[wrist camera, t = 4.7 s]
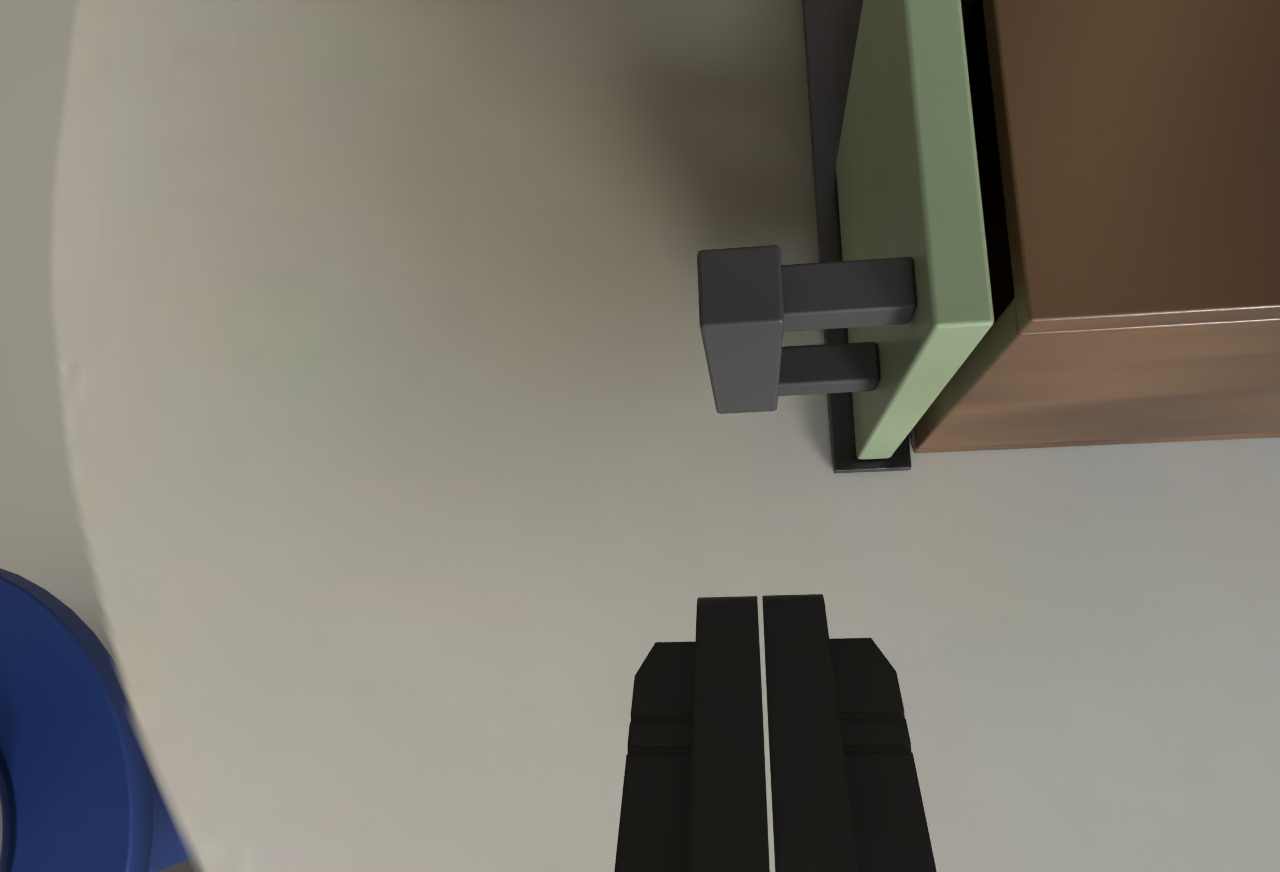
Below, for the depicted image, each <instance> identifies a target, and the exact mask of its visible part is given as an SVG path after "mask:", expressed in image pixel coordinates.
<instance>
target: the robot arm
mask: <svg viewBox="0 0 1280 872" xmlns="http://www.w3.org/2000/svg"><path fill="white" fill-rule="evenodd" d="M763 619H764V642H765V665H766V687H767V709H768V730H769V750H770V771H771V791H772V812H773V832H774V853H775V872H936V867H935V862H934V857H933V852H932V847H931V842H930V837H929V832H928V827H927V822H926V817H925V812H924V807H923V802H922V797H921V792H920V787H919V782H918V777H917V772H916V767H915V762H914V758H913V753H912V752H911V743H910V738H909V733H908V728H907V723H906V719H905V717H904V708H903V703H902V698H901V693H900V688H899V683H898V678H897V673H896V671H895V669H894V668H893V667H892V665H891V664H890V663H889V661H888V660H887V659H886V657H885V656H884V655H883V653H882V652H881V651H880V649H879V648H878V647H877V645H876V644H875V643H874V641H873V640H872V639H871V638H847V639H829V634H828V627H827V619H826V611H825V603H824V598H823V595H822V594H814V595H774V596H763ZM15 840H16V812H15V801H14V794H13V788H12V783H11V779H10V775H9V771H8V768H7V765H6V762H5V759H4V757H3V754H2V752H1V750H0V872H11V868H12V864H13V858H14V850H15ZM615 872H770V870H769V847H768V824H767V801H766V778H765V755H764V732H763V709H762V688H761V667H760V646H759V625H758V605H757V596H746V597H706V598H698V600H697V618H696V642H658V643H655V644H654V646H653V647H652V649H651V651H650V652H649V654H648V656H647V657H646V659H645V660H644V662H643V664H642V665H641V667H640V669H639V670H638V672H637V673H636V675H635V679H634V689H633V698H632V708H631V722H630V727H629V737H628V755H627V756H626V766H625V776H624V785H623V795H622V805H621V814H620V824H619V834H618V844H617V853H616V863H615Z"/></svg>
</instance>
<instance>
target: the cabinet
mask: <svg viewBox="0 0 1280 872" xmlns="http://www.w3.org/2000/svg"><path fill="white" fill-rule="evenodd" d="M802 1H803V16H804V31H805V46H806V61H807V77H808V92H809V107H810V122H811V137H812V153H813V168H814V183H815V198H816V214H817V229H818V244H819V259H820V263H824V262H838V261H843V258H842V244H841V230H840V216H839V202H838V188H837V174H836V161H837V155H838V149H839V143H840V137H841V131H842V125H843V119H844V113H845V107H846V101H847V95H848V89H849V83H850V77H851V71H852V65H853V59H854V53H855V47H856V41H857V35H858V29H859V23H860V17H861V11H862V5H863V0H802ZM961 8H962V18H963V27H964V37H965V46H966V56H967V65H968V75H969V85H970V94H971V104H972V113H973V123H974V132H975V142H976V151H977V161H978V171H979V180H980V190H981V199H982V209H983V218H984V228H985V238H986V247H987V257H988V266H989V276H990V285H991V295H992V304H993V314H994V322H993V325H992V326H991V328H990V329H989V330H988V332H987V333H986V334H985V335H984V337H983V338H982V339H981V341H980V342H979V343H978V345H977V346H976V347H975V348H974V350H973V351H972V352H971V354H970V355H969V356H968V357H967V359H966V360H965V361H964V363H963V364H962V365H961V367H960V368H959V369H958V370H957V372H956V373H955V374H954V376H953V377H952V378H951V379H950V381H949V382H948V383H947V385H946V386H945V387H944V389H943V390H942V391H941V392H940V394H939V395H938V396H937V398H936V399H935V400H934V401H933V403H932V404H931V405H930V407H929V408H928V409H927V411H926V412H925V413H924V414H923V416H922V417H921V418H920V420H919V421H918V422H917V423H916V425H915V426H914V427H913V429H912V430H911V433H912V445H913V451H914V452H915V453H929V452H952V451H974V450H997V449H1020V448H1042V447H1065V446H1088V445H1110V444H1133V443H1156V442H1179V441H1201V440H1224V439H1247V438H1269V437H1280V0H961ZM824 335H825V344H840V343H848V329H847V328H835V329H824ZM828 396H829V411H830V427H831V442H832V457H833V472H834V473H852V472H876V471H900V470H910V469H911V457H910V445H909V434H908V435H907V436H906V438H905V439H904V440H903V442H902V443H901V444H900V445H899V447H898V448H897V449H896V451H895V452H894V453H893V454H892V456H891V457H890V458H881V459H858V458H857V455H856V441H855V427H854V413H853V399H852V392H843V393H828Z"/></svg>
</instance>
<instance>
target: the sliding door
mask: <svg viewBox="0 0 1280 872" xmlns="http://www.w3.org/2000/svg"><path fill="white" fill-rule="evenodd" d="M836 174H837V188H838V202H839V216H840V230H841V244H842V258H843V261H838V262H824V263H809V264H794V265H781V254H780V248H779V246H777V245H771V246H756V247H742V248H728V249H714V250H701V251H699V252H698V254H697V265H698V292H699V318H700V328H701V334H702V339H703V344H704V349H705V354H706V359H707V364H708V369H709V374H710V379H711V385H712V390H713V395H714V400H715V405H716V410H717V412H718V413H720V414H723V413H743V412H763V411H775V410H776V409H777V402H778V396H785V395H805V394H824V393H843V392H852V399H853V413H854V427H855V441H856V455H857V458H858V459H881V458H890V457H891V456H892V454H893V453H894V452H895V451H896V449H897V448H898V447H899V445H900V444H901V443H902V442H903V440H904V439H905V438H906V436H907V435H908V434H909V432H910V431H911V430H912V429H913V427H914V426H915V425H916V423H917V422H918V421H919V420H920V418H921V417H922V416H923V414H924V413H925V412H926V411H927V409H928V408H929V407H930V405H931V404H932V403H933V401H934V400H935V399H936V398H937V396H938V395H939V394H940V392H941V391H942V390H943V389H944V387H945V386H946V385H947V383H948V382H949V381H950V379H951V378H952V377H953V376H954V374H955V373H956V372H957V370H958V369H959V368H960V367H961V365H962V364H963V363H964V361H965V360H966V359H967V357H968V356H969V355H970V354H971V352H972V351H973V350H974V348H975V347H976V346H977V345H978V343H979V342H980V341H981V339H982V338H983V337H984V335H985V334H986V333H987V332H988V330H989V329H990V328H991V326H992V325H993V322H994V314H993V304H992V295H991V285H990V276H989V266H988V257H987V247H986V238H985V228H984V218H983V209H982V199H981V190H980V180H979V171H978V161H977V151H976V142H975V132H974V123H973V113H972V104H971V94H970V85H969V75H968V65H967V56H966V46H965V37H964V27H963V18H962V8H961V0H863V5H862V11H861V17H860V23H859V29H858V35H857V41H856V47H855V53H854V59H853V65H852V71H851V77H850V83H849V89H848V95H847V101H846V107H845V113H844V119H843V125H842V131H841V137H840V143H839V149H838V155H837V161H836ZM835 328H847V329H848V343H840V344H822V345H805V346H788V347H782V341H783V332H785V331H802V330H819V329H835Z"/></svg>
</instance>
